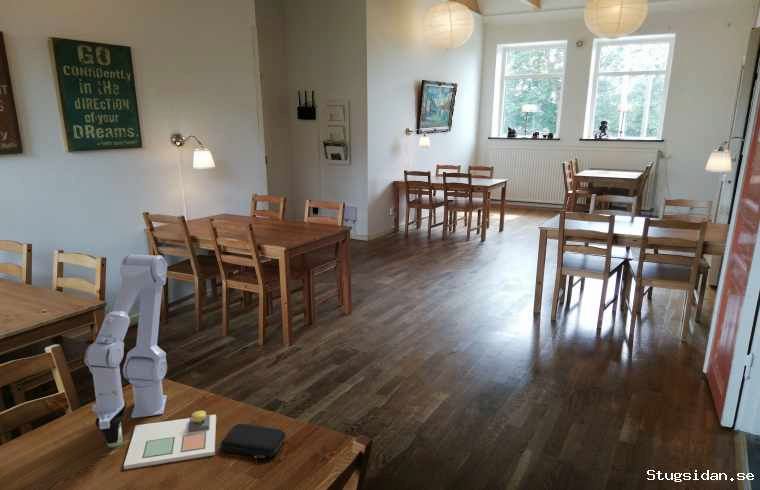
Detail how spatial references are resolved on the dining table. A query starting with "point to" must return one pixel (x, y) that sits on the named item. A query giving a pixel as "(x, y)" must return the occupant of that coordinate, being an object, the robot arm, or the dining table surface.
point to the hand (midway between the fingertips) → (114, 437)
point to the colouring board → (171, 442)
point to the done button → (198, 416)
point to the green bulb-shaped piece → (118, 439)
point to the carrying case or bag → (253, 440)
